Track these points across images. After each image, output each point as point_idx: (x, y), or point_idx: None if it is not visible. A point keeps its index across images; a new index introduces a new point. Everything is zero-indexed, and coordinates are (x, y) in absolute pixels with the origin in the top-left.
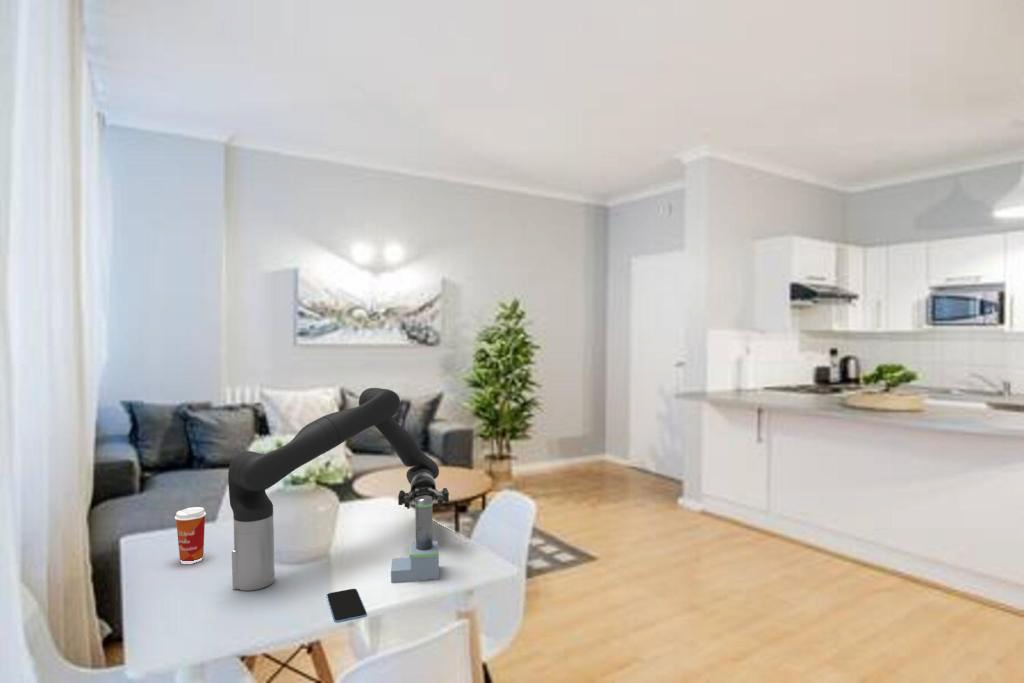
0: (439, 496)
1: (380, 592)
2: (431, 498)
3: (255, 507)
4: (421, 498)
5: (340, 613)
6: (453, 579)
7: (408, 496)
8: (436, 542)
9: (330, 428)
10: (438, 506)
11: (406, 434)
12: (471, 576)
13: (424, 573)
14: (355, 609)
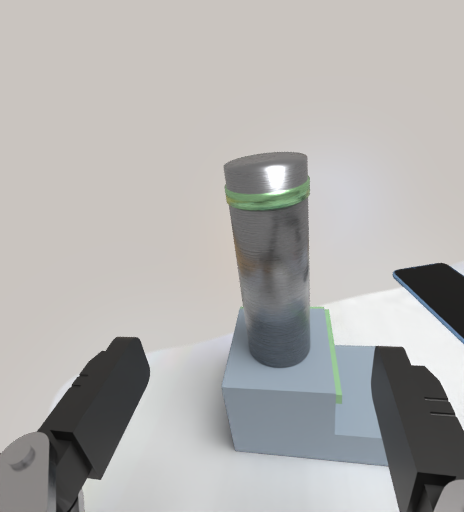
0: (75, 403)
1: (396, 334)
2: (230, 161)
3: None
4: (276, 158)
5: (447, 275)
6: (213, 359)
7: (445, 497)
8: (228, 372)
9: None
10: (148, 370)
11: None
12: (166, 364)
13: None
14: (422, 281)
